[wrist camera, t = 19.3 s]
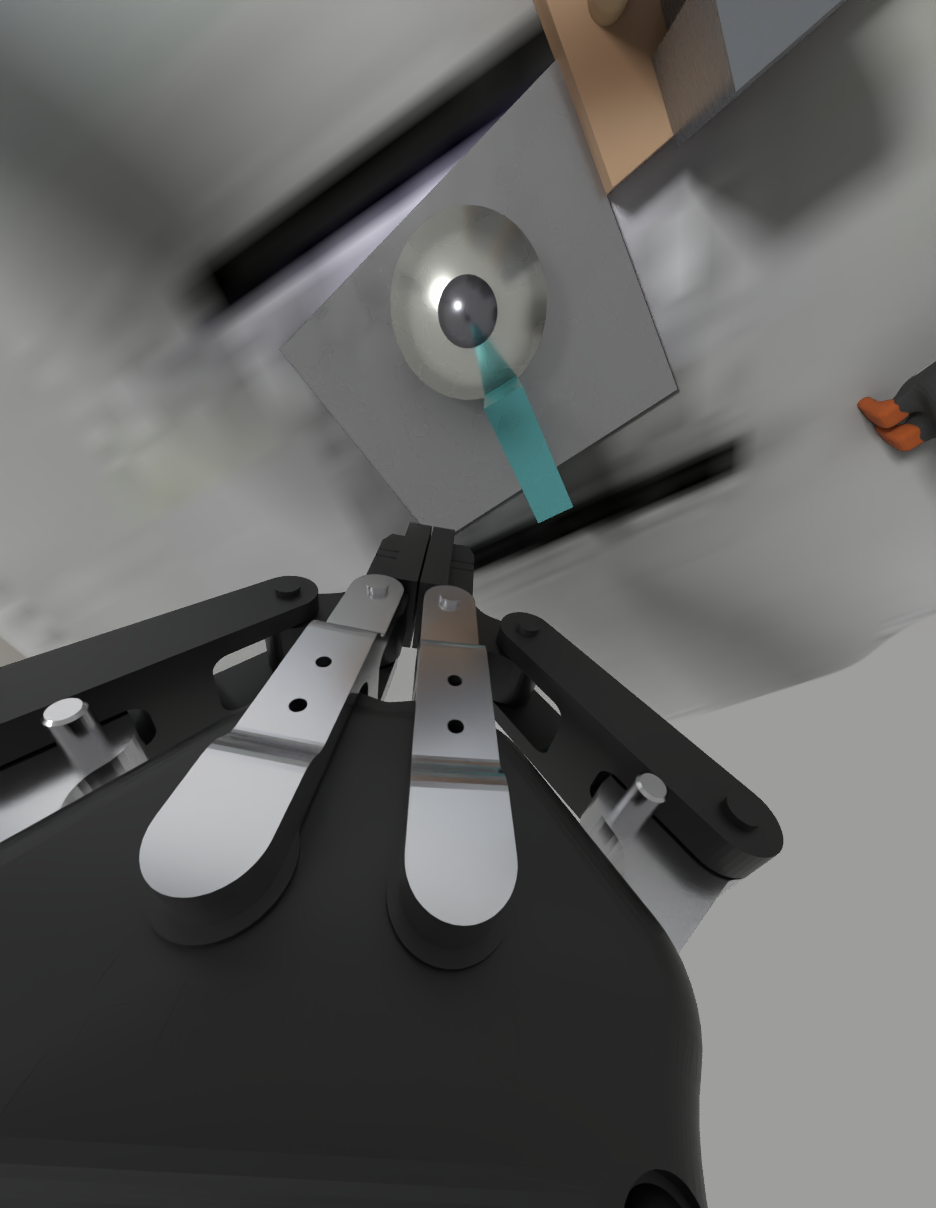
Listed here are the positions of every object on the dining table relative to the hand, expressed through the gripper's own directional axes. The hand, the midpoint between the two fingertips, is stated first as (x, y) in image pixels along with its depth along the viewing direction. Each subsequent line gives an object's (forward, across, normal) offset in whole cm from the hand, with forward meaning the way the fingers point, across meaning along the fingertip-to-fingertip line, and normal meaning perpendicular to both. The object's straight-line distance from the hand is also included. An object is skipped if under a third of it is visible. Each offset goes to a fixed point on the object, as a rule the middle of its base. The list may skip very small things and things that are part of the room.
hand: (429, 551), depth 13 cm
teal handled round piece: (+15, -2, -4) cm, 15 cm away
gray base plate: (+15, -1, -4) cm, 16 cm away
